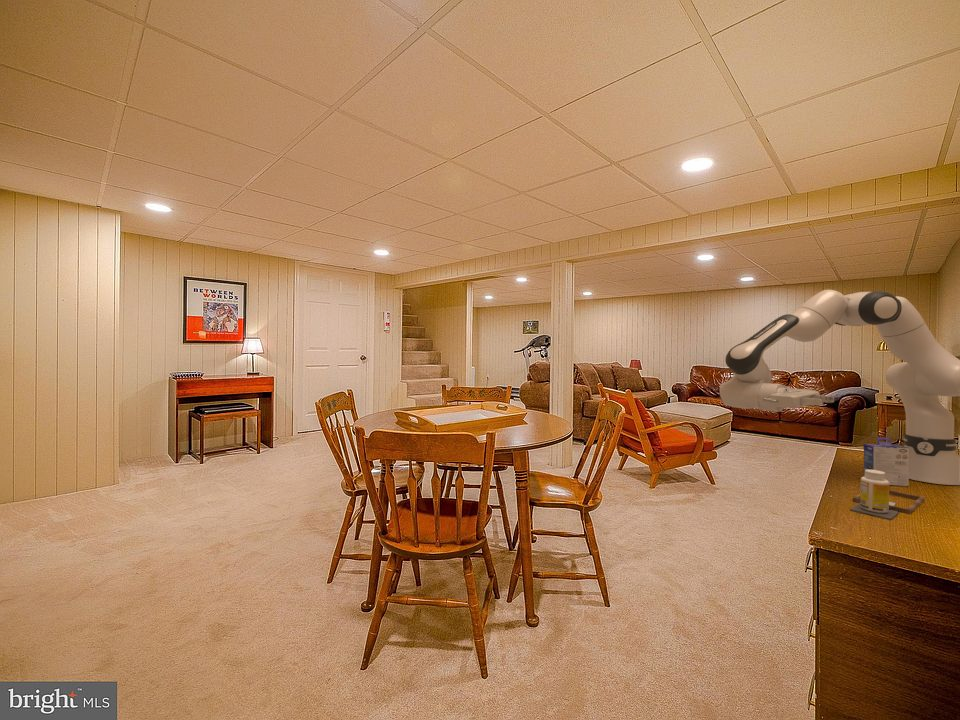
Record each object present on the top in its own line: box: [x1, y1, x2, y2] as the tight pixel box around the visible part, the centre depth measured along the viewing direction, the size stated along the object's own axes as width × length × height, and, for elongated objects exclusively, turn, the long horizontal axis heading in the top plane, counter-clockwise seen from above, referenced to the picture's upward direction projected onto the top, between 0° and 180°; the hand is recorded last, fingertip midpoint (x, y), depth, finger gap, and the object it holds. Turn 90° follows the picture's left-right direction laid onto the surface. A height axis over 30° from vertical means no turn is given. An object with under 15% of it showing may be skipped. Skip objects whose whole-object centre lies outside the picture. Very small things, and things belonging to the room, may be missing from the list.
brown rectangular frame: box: [852, 489, 925, 515], centre depth 122 cm, size 18×12×1 cm, turn 126°
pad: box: [849, 502, 900, 521], centre depth 113 cm, size 8×8×1 cm
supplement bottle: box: [859, 469, 890, 513], centre depth 113 cm, size 6×6×10 cm
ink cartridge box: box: [863, 436, 910, 487], centre depth 138 cm, size 10×6×14 cm, turn 78°
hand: (828, 401), depth 126 cm, fingers open, 8 cm apart
